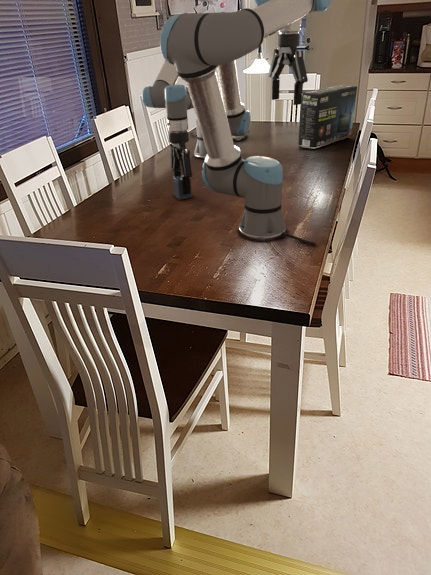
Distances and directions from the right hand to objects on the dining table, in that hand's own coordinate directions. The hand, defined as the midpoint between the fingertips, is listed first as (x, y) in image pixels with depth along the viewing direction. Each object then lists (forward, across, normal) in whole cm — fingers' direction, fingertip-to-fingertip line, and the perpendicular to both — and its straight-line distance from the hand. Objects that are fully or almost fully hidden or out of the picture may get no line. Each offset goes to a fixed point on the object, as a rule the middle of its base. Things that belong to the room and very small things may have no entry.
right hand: (286, 102), depth 162 cm
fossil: (+34, -93, +29) cm, 103 cm away
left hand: (+32, -19, -34) cm, 50 cm away
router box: (+34, -54, +64) cm, 90 cm away
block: (+34, -19, -34) cm, 52 cm away
